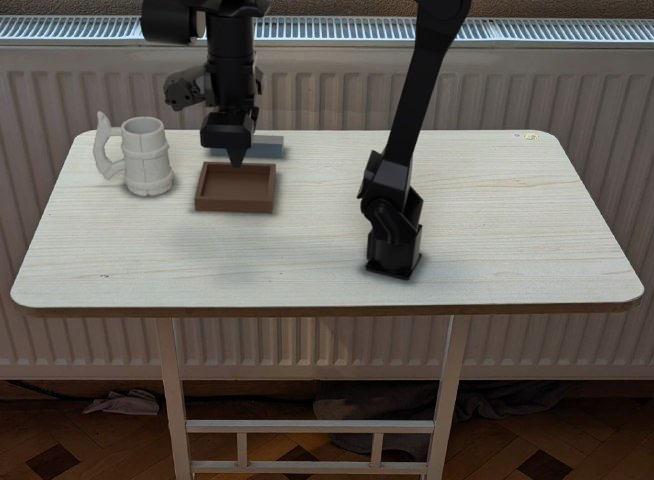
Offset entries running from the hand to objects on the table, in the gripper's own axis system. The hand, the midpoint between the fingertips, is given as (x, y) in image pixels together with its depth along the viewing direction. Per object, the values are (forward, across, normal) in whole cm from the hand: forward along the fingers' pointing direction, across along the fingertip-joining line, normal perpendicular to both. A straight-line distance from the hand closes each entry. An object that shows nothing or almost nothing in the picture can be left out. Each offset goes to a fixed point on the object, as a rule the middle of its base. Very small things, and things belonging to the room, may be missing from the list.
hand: (236, 166), depth 112 cm
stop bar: (+12, -27, -2) cm, 30 cm away
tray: (+12, -14, -2) cm, 19 cm away
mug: (+12, -15, -18) cm, 26 cm away
